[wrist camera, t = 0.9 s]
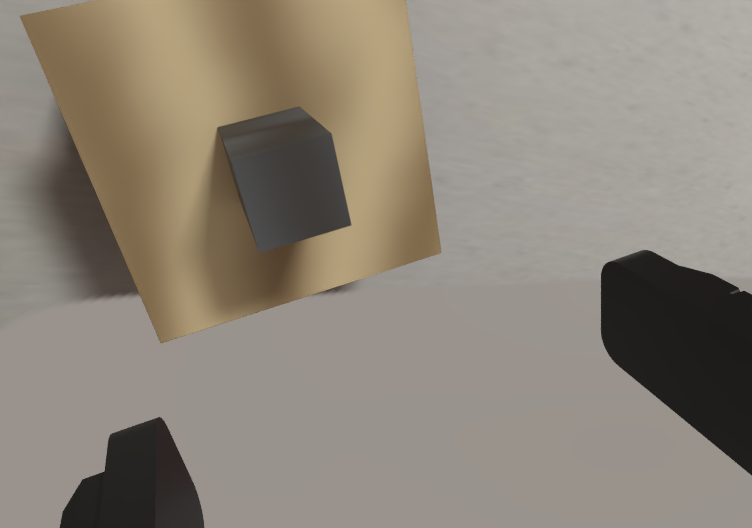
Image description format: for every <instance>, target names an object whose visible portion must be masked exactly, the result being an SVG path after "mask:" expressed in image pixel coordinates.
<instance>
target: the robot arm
mask: <svg viewBox="0 0 752 528" xmlns="http://www.w3.org/2000/svg"><path fill="white" fill-rule="evenodd" d="M601 335H602V340H603V343H604V346H605V348H606V350H607V352H608V354H609V356H610V357H611V358H612V360H613V361H614V362H615V363H616V364H617V365H618V366H619V367H621V368H622V369H623V370H624V371H626V372H627V373H628V374H629V375H630V376H632V377H633V378H634V379H635V380H636V381H638V382H639V383H640V384H641V385H643V386H644V387H645V388H646V389H648V390H649V391H650V392H651V393H652V394H653V395H655V396H656V397H657V398H658V399H660V400H661V401H662V402H663V403H664V404H666V405H667V406H668V407H669V408H670V409H672V410H673V411H674V412H675V413H677V414H678V415H679V416H680V417H681V418H683V419H684V420H685V421H686V422H688V423H689V424H690V425H691V426H692V427H694V428H695V429H696V430H697V431H698V432H700V433H701V434H702V435H703V436H705V437H706V438H707V439H708V440H710V441H711V442H712V443H713V444H714V445H715V446H717V447H718V448H719V449H720V450H722V451H723V452H724V453H725V454H726V455H728V456H729V457H730V458H731V459H732V460H734V461H735V462H736V463H737V464H739V465H740V466H741V467H742V468H744V469H745V470H746V471H747V472H748V473H750V474H751V475H752V295H751V294H750V293H748V292H746V291H742V292H740V291H739V288H738V287H736V286H734V285H732V284H730V283H728V282H726V281H724V280H722V279H720V278H719V277H717V276H715V275H713V274H709V273H705V272H702V271H698V270H694V269H690V268H686V267H682V266H678V265H676V264H674V263H673V262H671V261H669V260H667V259H665V258H663V257H661V256H659V255H658V254H656V253H654V252H652V251H649V250H642V251H639V252H636V253H633V254H630V255H628V256H625V257H622V258H619V259H616V260H613V261H610V262H608V263H606V264H605V265H604V267H603V269H602V272H601ZM60 528H204V520H203V514H202V509H201V505H200V501H199V498H198V494H197V491H196V489H195V486H194V483H193V481H192V479H191V477H190V475H189V473H188V470H187V468H186V466H185V464H184V462H183V460H182V457H181V455H180V453H179V451H178V449H177V447H176V445H175V442H174V440H173V438H172V436H171V434H170V432H169V429H168V427H167V425H166V424H165V422H164V421H163V420H162V418H160V417H158V418H156V419H153V420H150V421H147V422H144V423H141V424H138V425H135V426H132V427H130V428H127V429H124V430H121V431H118V432H115V433H112V434H111V435H110V437H109V440H108V448H107V456H106V466H105V472H102V473H99V474H97V475H94V476H91V477H89V478H85V479H83V480H82V481H81V483H80V485H79V486H78V488H77V489H76V491H75V493H74V494H73V496H72V498H71V499H70V501H69V503H68V504H67V506H66V507H65V509H64V511H63V514H62V519H61V524H60Z"/></svg>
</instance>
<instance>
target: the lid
mask: <svg viewBox="0 0 752 528" xmlns="http://www.w3.org/2000/svg"><path fill="white" fill-rule="evenodd" d="M20 18H21V20H22V22H23V25H24V27H25V29H26V32H27V34H28V36H29V39H30V41H31V43H32V46H33V48H34V50H35V53H36V55H37V57H38V60H39V62H40V64H41V67H42V69H43V71H44V73H45V76H46V78H47V80H48V83H49V85H50V87H51V90H52V92H53V94H54V97H55V99H56V101H57V104H58V106H59V108H60V111H61V113H62V115H63V118H64V120H65V122H66V125H67V127H68V129H69V131H70V134H71V136H72V138H73V141H74V143H75V145H76V148H77V150H78V152H79V155H80V157H81V159H82V162H83V164H84V166H85V169H86V171H87V173H88V176H89V178H90V180H91V182H92V185H93V187H94V189H95V192H96V194H97V196H98V199H99V201H100V203H101V206H102V208H103V210H104V213H105V215H106V217H107V220H108V222H109V224H110V227H111V229H112V231H113V234H114V236H115V238H116V240H117V243H118V245H119V247H120V250H121V252H122V254H123V257H124V259H125V261H126V264H127V266H128V268H129V271H130V273H131V275H132V278H133V280H134V282H135V285H136V287H137V289H138V292H139V294H140V296H141V298H142V301H143V303H144V305H145V308H146V310H147V312H148V315H149V317H150V319H151V322H152V324H153V326H154V329H155V331H156V333H157V336H158V338H159V340H160V342H161V343H163V342H167V341H170V340H173V339H176V338H179V337H182V336H185V335H188V334H191V333H194V332H198V331H201V330H204V329H207V328H210V327H213V326H216V325H219V324H222V323H226V322H228V321H232V320H235V319H238V318H241V317H244V316H247V315H250V314H253V313H257V312H259V311H262V310H266V309H269V308H272V307H275V306H278V305H281V304H284V303H288V302H290V301H294V300H297V299H300V298H303V297H306V296H309V295H312V294H316V293H319V292H322V291H325V290H328V289H331V288H334V287H337V286H340V285H343V284H347V283H350V282H353V281H356V280H359V279H362V278H365V277H368V276H371V275H375V274H378V273H381V272H384V271H387V270H390V269H393V268H396V267H399V266H402V265H406V264H409V263H412V262H415V261H418V260H421V259H424V258H427V257H430V256H433V255H437V254H440V253H441V246H440V239H439V232H438V225H437V218H436V211H435V204H434V196H433V189H432V182H431V175H430V168H429V161H428V154H427V147H426V140H425V133H424V126H423V119H422V112H421V105H420V98H419V91H418V84H417V77H416V70H415V63H414V56H413V48H412V41H411V34H410V27H409V20H408V13H407V6H406V0H96V1H91V2H86V3H81V4H76V5H71V6H66V7H61V8H56V9H52V10H47V11H42V12H37V13H32V14H27V15H22V16H20Z"/></svg>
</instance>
